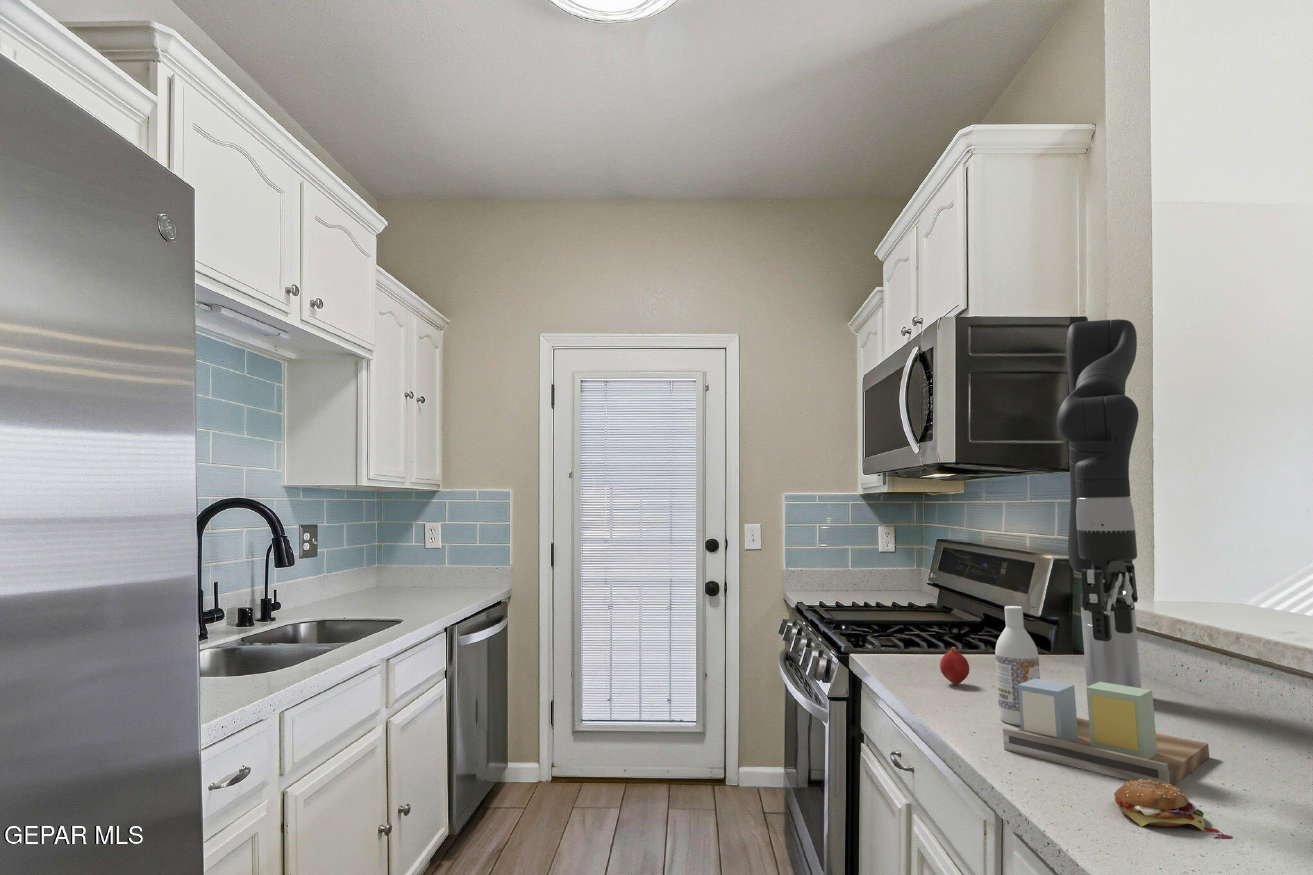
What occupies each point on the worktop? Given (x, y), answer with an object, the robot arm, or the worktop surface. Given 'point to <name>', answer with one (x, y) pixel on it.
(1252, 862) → the worktop surface
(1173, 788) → the hamburger
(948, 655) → the onion
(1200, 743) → the wooden slab
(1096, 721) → the tea box
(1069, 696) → the box
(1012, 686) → the bath foam
